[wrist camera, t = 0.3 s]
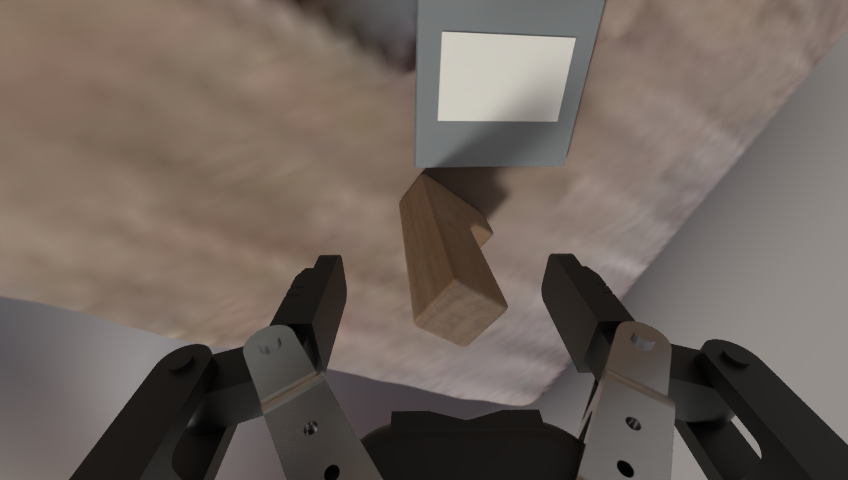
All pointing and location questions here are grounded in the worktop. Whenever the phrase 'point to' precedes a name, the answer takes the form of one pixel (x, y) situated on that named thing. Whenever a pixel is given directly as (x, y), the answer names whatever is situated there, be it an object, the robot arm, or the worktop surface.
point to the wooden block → (448, 264)
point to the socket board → (500, 80)
